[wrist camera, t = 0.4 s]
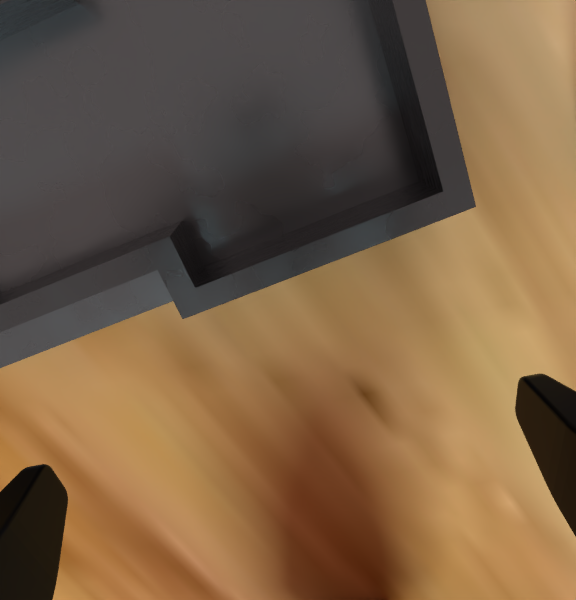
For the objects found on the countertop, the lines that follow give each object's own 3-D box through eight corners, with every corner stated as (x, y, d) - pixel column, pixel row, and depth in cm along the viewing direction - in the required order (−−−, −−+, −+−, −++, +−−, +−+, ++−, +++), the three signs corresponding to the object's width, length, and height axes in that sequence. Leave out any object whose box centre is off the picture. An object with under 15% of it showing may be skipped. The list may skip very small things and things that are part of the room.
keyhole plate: (443, 192, 21) (476, 206, 18) (-11, 368, 24) (-57, 411, 20) (329, -231, 16) (346, -322, 13) (-240, 46, 18) (-353, 31, 15)
